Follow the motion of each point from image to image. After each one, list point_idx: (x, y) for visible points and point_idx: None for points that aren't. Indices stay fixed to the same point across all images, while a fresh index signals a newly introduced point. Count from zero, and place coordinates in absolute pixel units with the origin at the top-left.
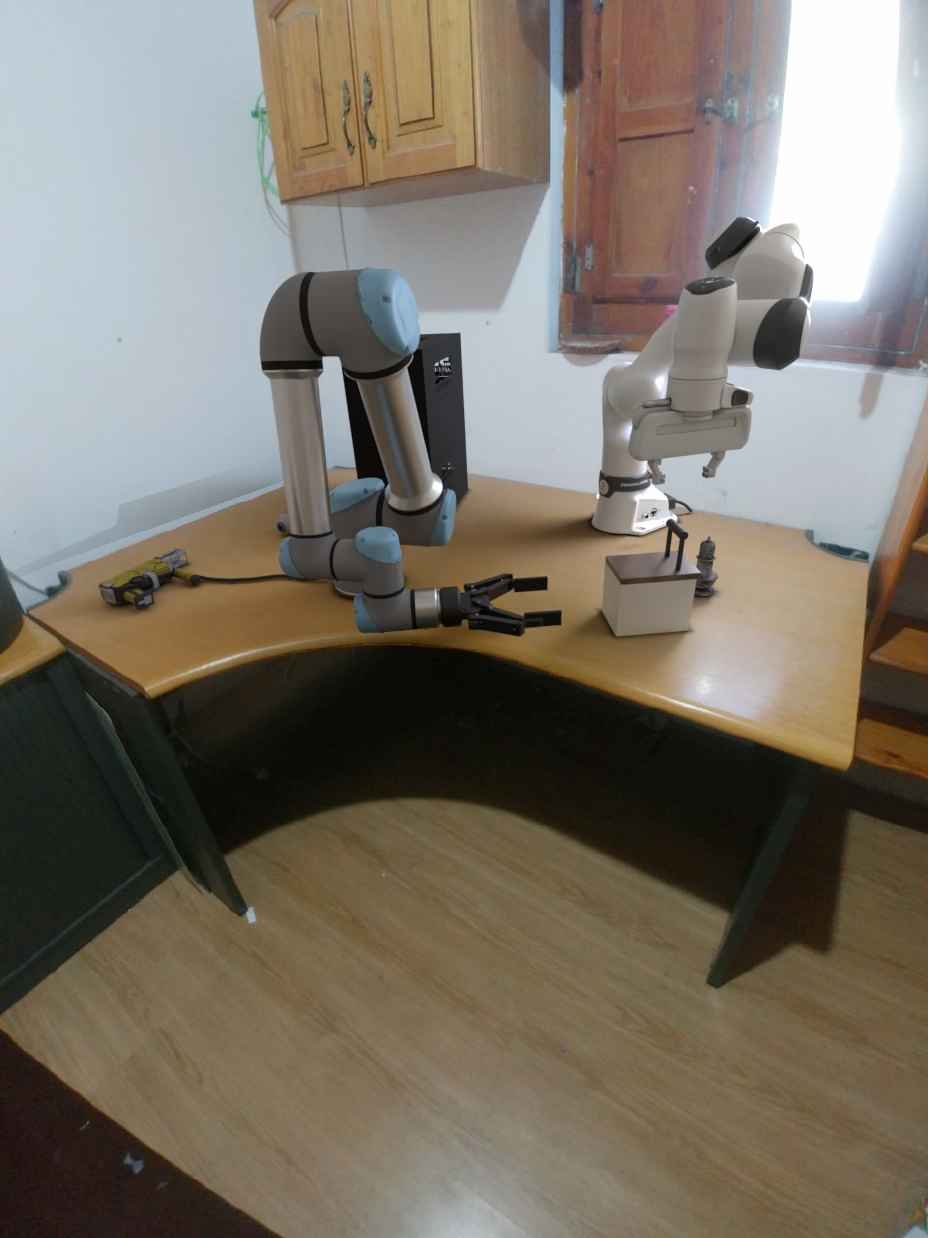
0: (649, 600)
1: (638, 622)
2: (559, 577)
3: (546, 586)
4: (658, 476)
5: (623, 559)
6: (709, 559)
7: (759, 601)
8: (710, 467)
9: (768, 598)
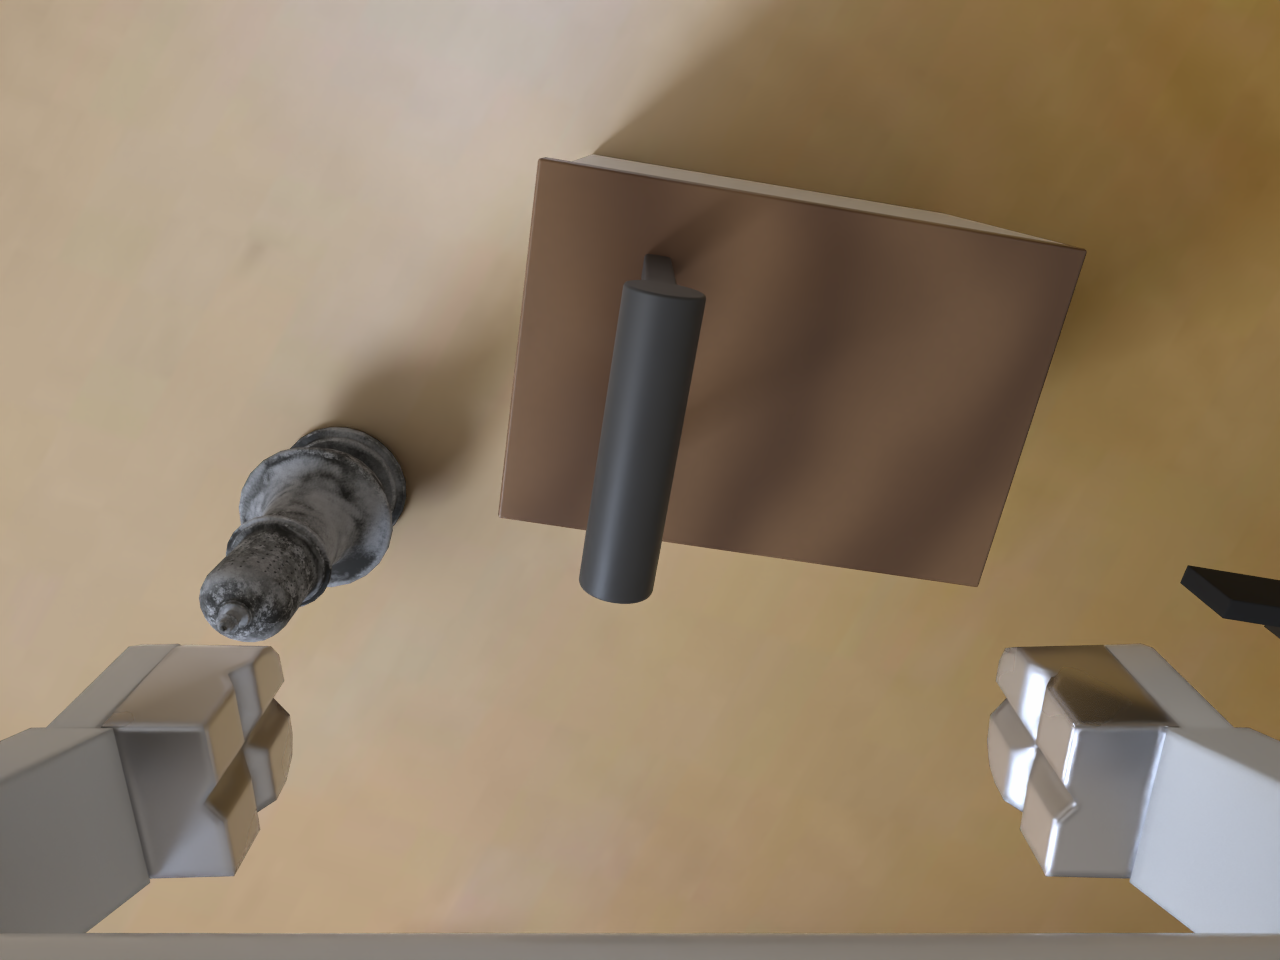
0: (843, 202)
1: (860, 201)
2: (897, 782)
3: (1206, 575)
4: (1204, 710)
5: (906, 509)
6: (274, 528)
7: (113, 305)
8: (146, 775)
9: (55, 318)
